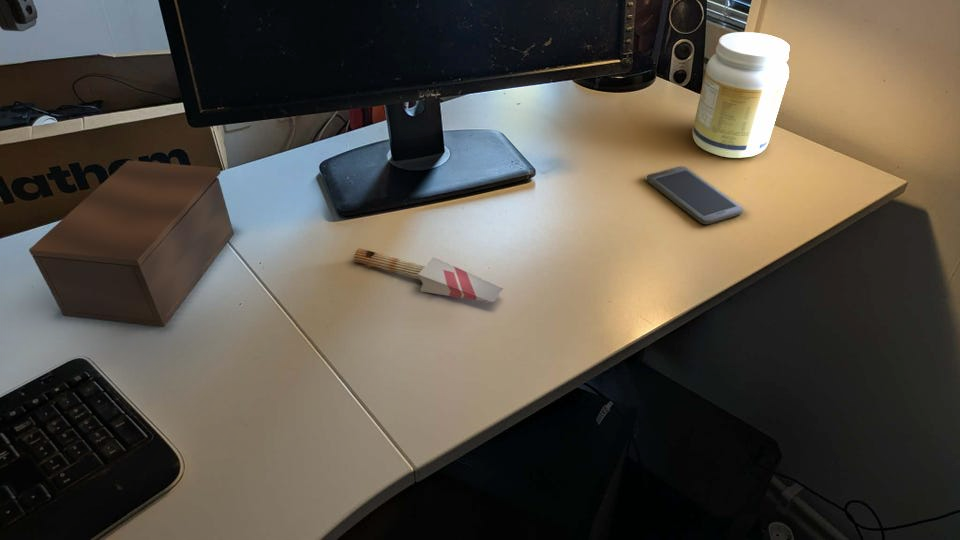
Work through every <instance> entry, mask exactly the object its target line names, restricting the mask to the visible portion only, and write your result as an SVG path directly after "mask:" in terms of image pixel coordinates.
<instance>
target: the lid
mask: <svg viewBox="0 0 960 540" xmlns="http://www.w3.org/2000/svg"><path fill="white" fill-rule="evenodd" d="M220 175H221V169H220V167H216V166H215V167H214V166H201V165H189V164H188V165H187V164H179V163H178V164H177V163H167V162H152V161H140V160H126V162H124V163H123V164H122V165H121V166H120V167H119V168H118V169H117V170H115V171H114V172H113V173H112V174H111V175H110V176H109V177H107V178H106V180H104V181H103V182H102V183H101V184H100V185H99V186H98V187H97V188H96V189H94V190H93V191H92V192H91V193H90V194H89V195H88V196H87V197H86V198H85V199H83V200H82V201H81V202H80V203H79V204H78V205H76V207H75V208H73V209H72V210H71V211H70V212H69V213H68V214H66V216H64V217H63V218H62V219H61V220H60V221H58V223H56V225H55V226H53V227H52V228H51V229H50V230H49V231H48V232H47V233H46V234H44V235H43V236H42V237H41V238H40V239H39V240H38V241H37V242H36V243H34V244H33V245H32V246H31V247H30V248H29V249H28V252H29V254H30V256H43V257H53V258H62V259H72V260H82V261H92V262H102V263H112V264H122V265H132V266H140V265H141V264H142V263H143V262H144V261H145V259H146V258H147V257H148V256H149V255H150V254H151V253H152V251H153V250H154V249H155V248H156V247H157V246H158V244H159V243H160V242H161V241H162V240H163V239H164V238H165V236H166V235H167V234H168V233H169V232H170V231H171V230H172V228H173V227H174V226H175V225H176V224H177V223H178V221H179V220H180V219H181V218H182V217H183V216H184V215H185V213H186V212H187V211H188V210H189V209H190V208H191V207H192V205H193V204H194V203H195V202H196V201H197V200H198V199H199V197H200V196H201V195H202V194H203V193H204V192H205V190H206V189H207V188H208V187H209V186H210V185H211V184H212V182H213V181H214V180H215V179H216V178H219V176H220Z"/></svg>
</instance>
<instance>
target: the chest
mask: <svg viewBox="0 0 960 540" xmlns="http://www.w3.org/2000/svg"><path fill="white" fill-rule="evenodd" d="M231 221H232V220H231V218H230V215H229V211H228V207H227V204H226V200H225V197H224V193H223V189H222V186H221V182H220V179H219V177H217V178H216V179H215V180H214V181H213V182H212V184H211V185H210V186H209V187H208V188H207V189H206V190H205V192H204V193H203V194H202V195H201V196H200V197H199V199H198V200H197V201H196V202H195V203H194V204H193V205H192V207H191V208H190V209H189V210H188V211H187V212H186V213H185V215H184V216H183V217H182V218H181V219H180V220H179V221H178V223H177V224H176V225H175V226H174V227H173V228H172V230H171V231H170V232H169V233H168V234H167V235H166V236H165V238H164V239H163V240H162V241H161V242H160V243H159V244H158V246H157V247H156V248H155V249H154V250H153V251H152V253H151V254H150V255H149V256H148V257H147V258H146V259H145V261H144V262H143V263H142V264H141V265H140V266H132V265H122V264H112V263H102V262H92V261H82V260H72V259H62V258H53V257H43V256H33V255H31V256H32V259H33V261H34V262H35V264H36V266H37V269H38V270H39V272H40V274H41V276H42V278H43V279H44V281H45V283H46V285H47V287H48V289H49V291H50V293H51V295H52V297H53V298H54V300H55V303H56V304H57V306H58V308H59V311H61V313H62V315H63V317H64V316H65V317H73V318H83V319H92V320H100V321H101V320H102V321H109V322H110V321H112V322H119V323H127V324H138V325H146V326H154V327H162V328H163V327H165V326H166V324H167V323H168V322H169V321H170V319H171V318H172V317H173V316H174V314H175V312H177V310H178V308H179V307H181V305H182V303H184V301H185V299H186V298H187V297H188V295H189V294H190V293H191V291H192V290H193V289H194V288H195V286H196V285H197V284H198V282H199V281H200V280H201V278H202V277H203V276H204V274H205V273H206V271H207V270H208V269H209V267H211V265H212V263H214V261H215V259H216V258H217V257H218V256H219V254H220V252H221V251H222V250H223V249H224V247H226V245H227V244H228V242H229V241H230V240H231V238H232V237H233V236H234V234H235V233H234V229H233V226H232V222H231Z"/></svg>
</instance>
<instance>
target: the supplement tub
mask: <svg viewBox="0 0 960 540" xmlns="http://www.w3.org/2000/svg"><path fill="white" fill-rule="evenodd" d="M790 48H791V47H790V45H789V44H788V43H787V42H786V41H785V40H784V39H782V38H780V37H776V36H774V35H770V34H766V33H761V32H760V33H759V32H752V31H737V32H729V33H725V34H724V35H721V37H719V39H718V43H717V45H716V48H715V53H714V54H713V55H712V56H711V57H710V58H709V60H708V61H707V64H706V68H705V71H704V77H703V80H702V81H703V82H702V86H701V90H700V95H699V99H698V104H697V109H696V113H695V118H694V122H693V127H692V137H693V140H694V142H695V145H697V146H698V147H700V148H701V149H702V150H704V151H706V152H708V153H710V154H713V155H715V156H720V157H725V158H733V159H740V158H750V157H754V156H756V155H759V154H760V153H762V152H763V151H764V150H765V149H766V148H767V146H768V144H769V143H770V139H771V135H772V132H773V129H774V126H775V122H776V119H777V117H778V116H777V115H778V113H779V109H780V106H781V102H782V99H783V96H784V93H785V90H786V89H785V88H786V86H787V83H788V82H787V81H788V80H789V75H790V74H789V73H790V70H789V66H788V64H787V61H788V60H789V54H790V53H789V52H790Z"/></svg>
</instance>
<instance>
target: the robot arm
mask: <svg viewBox="0 0 960 540" xmlns="http://www.w3.org/2000/svg"><path fill="white" fill-rule="evenodd" d="M34 3H35V2H34V0H0V29H1V30H3V31H7V32H25V31H27V30H29V29H31V28H33V27H35V26H36V25H37V19H38V18H39V17H38V10H37V8H36V5H35V4H34Z"/></svg>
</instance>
